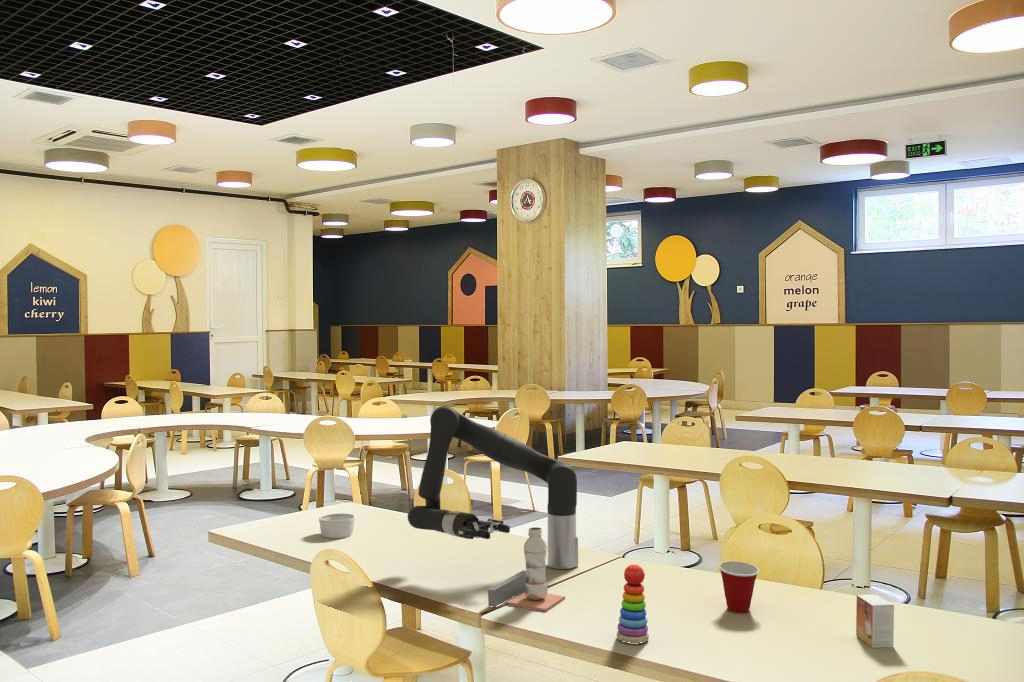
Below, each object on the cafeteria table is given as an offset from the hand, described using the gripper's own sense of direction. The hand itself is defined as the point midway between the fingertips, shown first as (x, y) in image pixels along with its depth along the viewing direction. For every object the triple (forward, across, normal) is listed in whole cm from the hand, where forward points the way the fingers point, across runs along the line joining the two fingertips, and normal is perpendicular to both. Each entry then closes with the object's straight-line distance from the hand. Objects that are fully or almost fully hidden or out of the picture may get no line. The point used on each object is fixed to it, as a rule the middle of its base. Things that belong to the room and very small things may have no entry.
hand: (499, 532), depth 248 cm
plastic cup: (+61, +30, +19) cm, 70 cm away
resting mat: (+14, -1, +18) cm, 23 cm away
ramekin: (-90, +9, +17) cm, 92 cm away
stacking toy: (+50, -7, +18) cm, 54 cm away
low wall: (+6, -3, +17) cm, 18 cm away
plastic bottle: (+14, -1, +17) cm, 22 cm away
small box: (+97, +30, +19) cm, 103 cm away
